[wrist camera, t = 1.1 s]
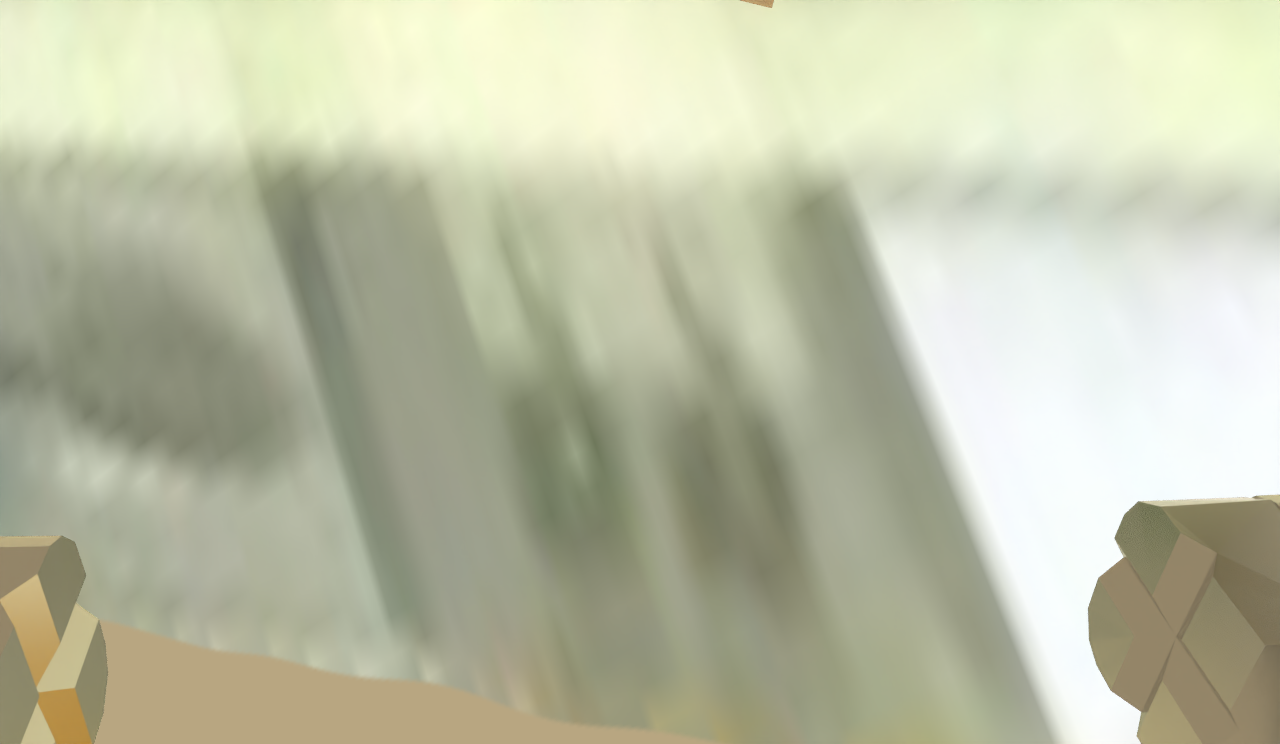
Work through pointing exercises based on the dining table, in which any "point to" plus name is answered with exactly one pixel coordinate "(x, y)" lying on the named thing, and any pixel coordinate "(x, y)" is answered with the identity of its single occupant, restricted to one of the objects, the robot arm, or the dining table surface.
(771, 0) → the walnut block
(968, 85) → the dining table surface
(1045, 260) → the dining table surface
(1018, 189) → the dining table surface
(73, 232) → the dining table surface
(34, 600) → the robot arm
